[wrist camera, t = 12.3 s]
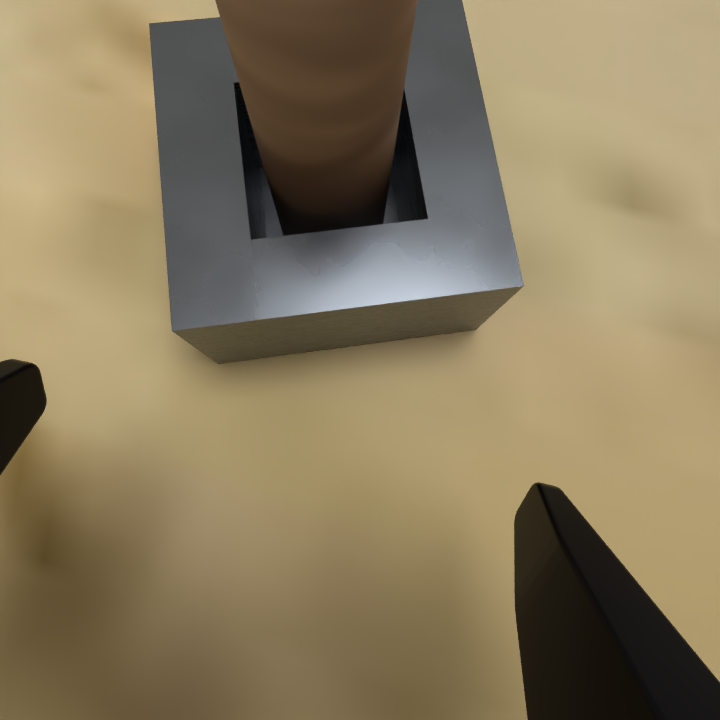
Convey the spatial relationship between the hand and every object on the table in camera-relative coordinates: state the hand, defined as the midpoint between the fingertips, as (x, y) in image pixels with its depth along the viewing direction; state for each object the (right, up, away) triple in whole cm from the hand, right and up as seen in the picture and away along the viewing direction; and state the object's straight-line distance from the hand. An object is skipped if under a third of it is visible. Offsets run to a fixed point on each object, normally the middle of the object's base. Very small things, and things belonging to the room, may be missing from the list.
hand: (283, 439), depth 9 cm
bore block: (0, +7, +11) cm, 13 cm away
